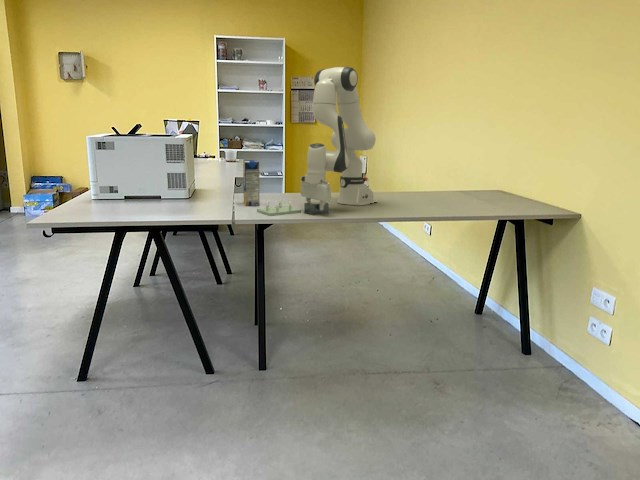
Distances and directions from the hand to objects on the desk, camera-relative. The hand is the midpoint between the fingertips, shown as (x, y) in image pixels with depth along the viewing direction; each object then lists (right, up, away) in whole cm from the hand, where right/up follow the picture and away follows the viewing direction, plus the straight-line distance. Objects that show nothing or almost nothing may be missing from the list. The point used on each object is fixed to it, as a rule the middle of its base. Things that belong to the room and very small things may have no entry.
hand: (315, 208), depth 228 cm
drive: (+1, -2, +1) cm, 3 cm away
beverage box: (-33, +3, +20) cm, 39 cm away
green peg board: (-17, -2, +1) cm, 17 cm away
